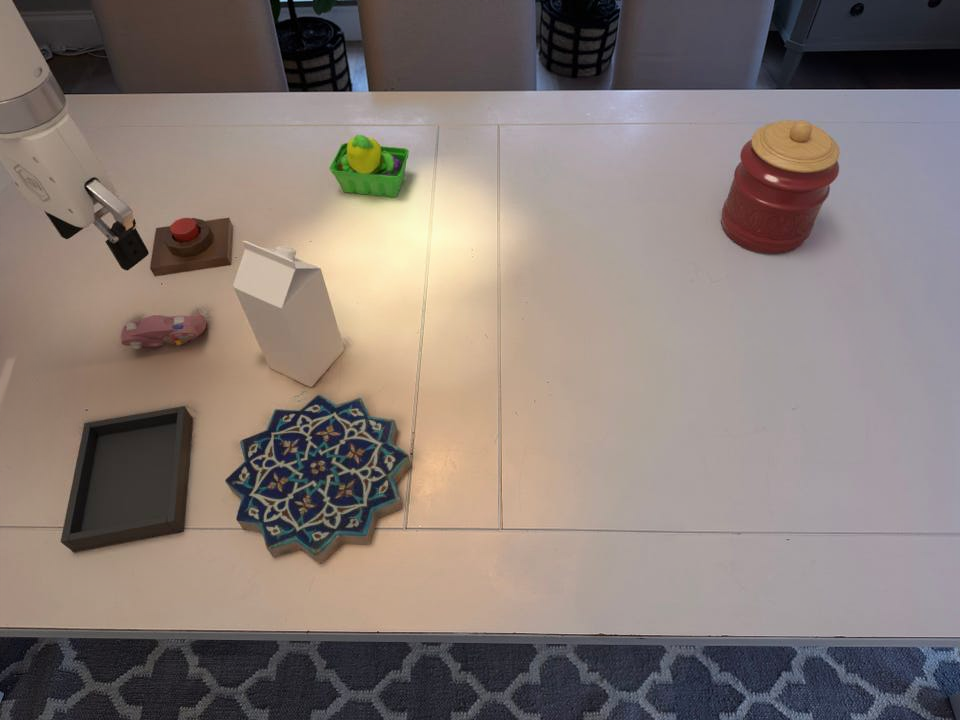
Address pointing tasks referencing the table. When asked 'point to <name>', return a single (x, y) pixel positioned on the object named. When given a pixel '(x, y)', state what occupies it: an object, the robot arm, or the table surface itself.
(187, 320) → the pink toy car
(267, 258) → the milk carton
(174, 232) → the power button
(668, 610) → the table surface
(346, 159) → the fruit basket
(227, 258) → the switch block
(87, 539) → the dock
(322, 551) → the decorative tile
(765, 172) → the kitchen canister
